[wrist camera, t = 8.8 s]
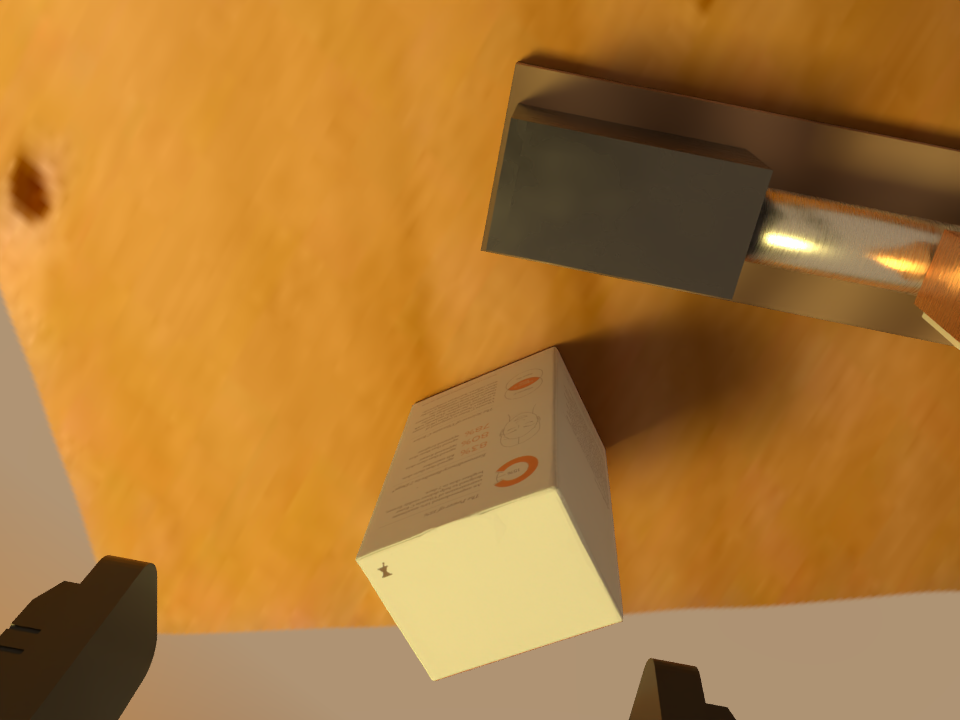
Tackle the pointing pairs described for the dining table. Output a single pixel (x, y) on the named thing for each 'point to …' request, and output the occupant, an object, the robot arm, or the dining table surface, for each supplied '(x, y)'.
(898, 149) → the walnut board
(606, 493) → the small box
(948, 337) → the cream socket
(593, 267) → the dark hollow rectangular block
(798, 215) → the sliding bolt
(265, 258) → the dining table surface
